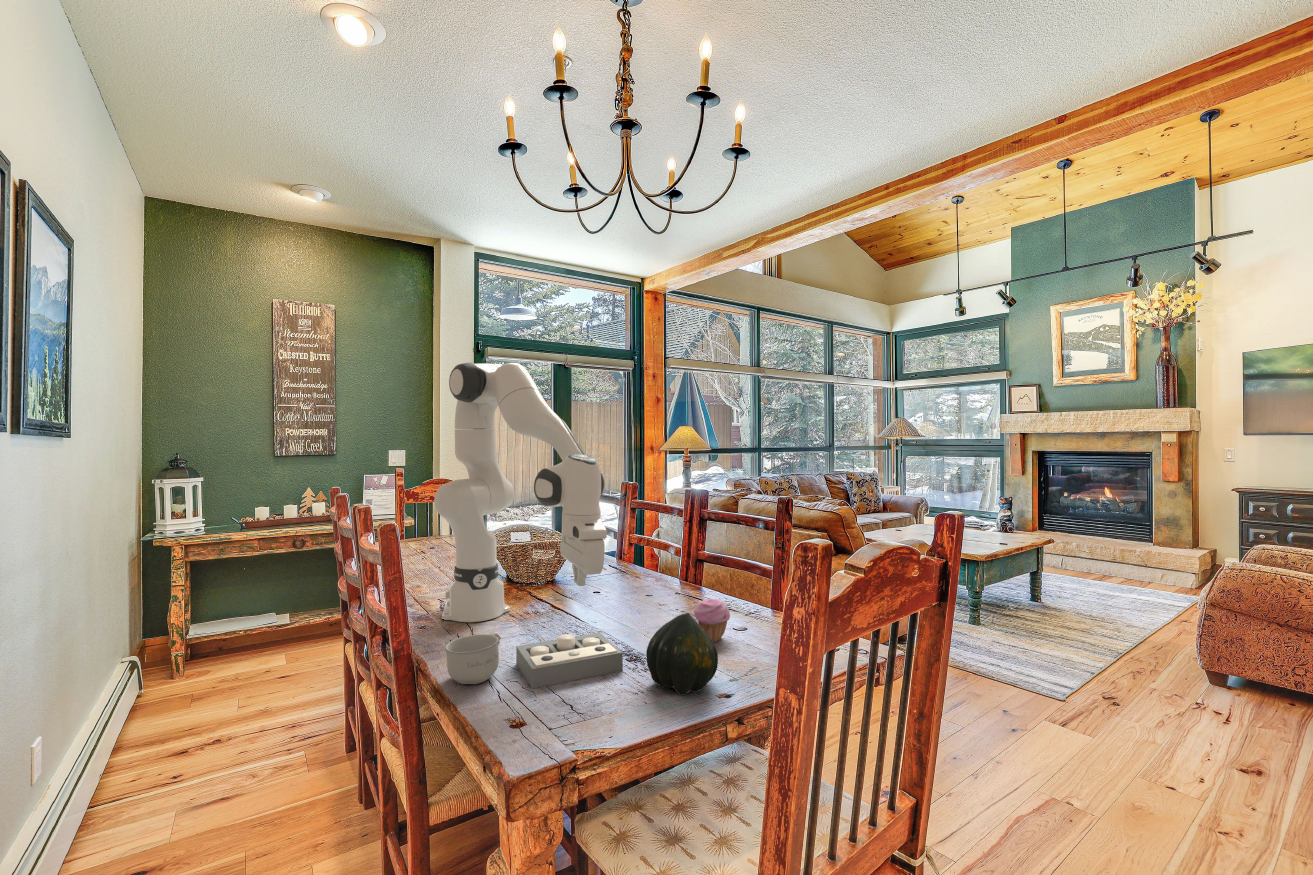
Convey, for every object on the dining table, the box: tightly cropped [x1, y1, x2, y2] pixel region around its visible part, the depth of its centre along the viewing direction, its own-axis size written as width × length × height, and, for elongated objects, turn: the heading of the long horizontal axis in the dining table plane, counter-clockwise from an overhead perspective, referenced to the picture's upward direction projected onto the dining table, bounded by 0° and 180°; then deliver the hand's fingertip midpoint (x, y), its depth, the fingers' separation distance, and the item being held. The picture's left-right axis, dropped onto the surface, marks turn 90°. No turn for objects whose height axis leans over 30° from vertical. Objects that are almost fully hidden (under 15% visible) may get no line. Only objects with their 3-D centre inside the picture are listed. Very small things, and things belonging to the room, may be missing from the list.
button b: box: [556, 633, 576, 652], centre depth 132 cm, size 4×4×3 cm
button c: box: [582, 637, 600, 647], centre depth 135 cm, size 4×4×3 cm
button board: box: [515, 632, 624, 690], centre depth 130 cm, size 14×20×4 cm
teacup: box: [444, 631, 501, 685], centre depth 126 cm, size 14×11×8 cm
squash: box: [645, 612, 719, 696], centre depth 121 cm, size 14×15×15 cm
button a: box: [530, 646, 549, 657], centre depth 129 cm, size 4×4×3 cm
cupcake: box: [693, 598, 731, 643], centre depth 148 cm, size 9×9×10 cm
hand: (579, 584), depth 136 cm, fingers closed
